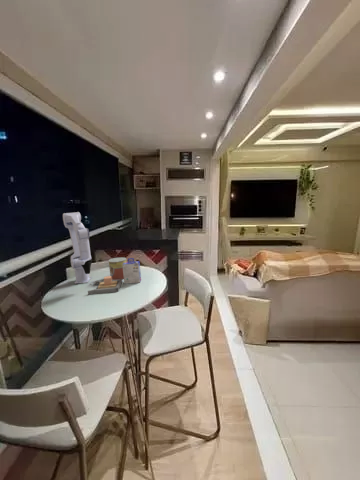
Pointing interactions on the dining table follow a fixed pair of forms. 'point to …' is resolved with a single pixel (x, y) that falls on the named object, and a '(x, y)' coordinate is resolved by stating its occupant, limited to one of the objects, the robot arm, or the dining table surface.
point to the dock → (106, 288)
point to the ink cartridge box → (131, 271)
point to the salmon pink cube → (108, 280)
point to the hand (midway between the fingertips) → (87, 273)
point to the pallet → (101, 285)
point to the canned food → (116, 268)
